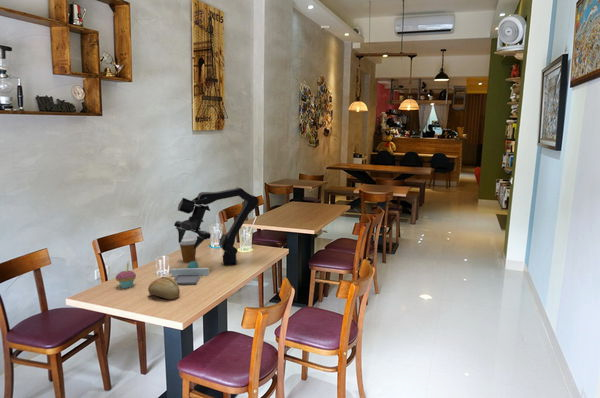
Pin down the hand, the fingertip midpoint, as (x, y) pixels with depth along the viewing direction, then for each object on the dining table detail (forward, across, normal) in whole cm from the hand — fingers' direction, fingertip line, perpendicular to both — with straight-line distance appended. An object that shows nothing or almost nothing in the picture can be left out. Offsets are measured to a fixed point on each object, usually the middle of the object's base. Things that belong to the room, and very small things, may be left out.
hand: (186, 245), depth 224 cm
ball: (+8, +6, +2) cm, 11 cm away
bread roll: (+18, +15, -29) cm, 37 cm away
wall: (+12, +10, -4) cm, 16 cm away
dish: (+13, +12, -10) cm, 21 cm away
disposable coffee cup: (+10, -5, +16) cm, 20 cm away
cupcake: (+23, -8, -23) cm, 34 cm away
